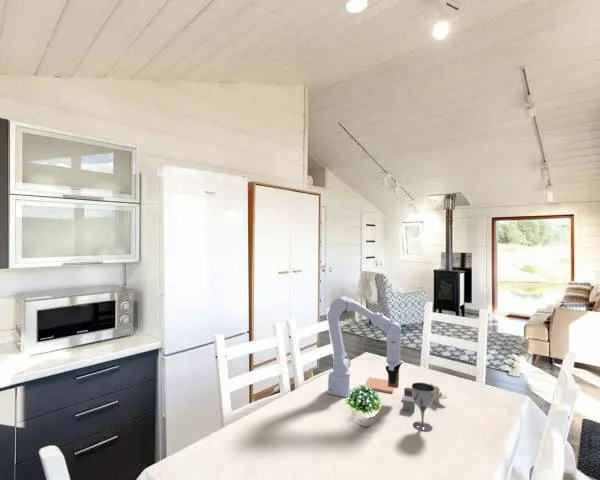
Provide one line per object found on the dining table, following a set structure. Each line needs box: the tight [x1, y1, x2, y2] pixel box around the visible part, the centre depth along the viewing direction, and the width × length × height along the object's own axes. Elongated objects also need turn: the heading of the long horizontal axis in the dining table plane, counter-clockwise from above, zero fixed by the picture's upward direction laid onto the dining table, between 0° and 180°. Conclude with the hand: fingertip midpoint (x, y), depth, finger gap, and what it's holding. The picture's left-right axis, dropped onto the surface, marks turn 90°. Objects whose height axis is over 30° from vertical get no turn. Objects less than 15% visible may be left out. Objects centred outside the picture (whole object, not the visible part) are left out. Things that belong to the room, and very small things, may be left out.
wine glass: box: [411, 382, 434, 433], centre depth 130 cm, size 8×8×15 cm
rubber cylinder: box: [403, 387, 413, 397], centre depth 153 cm, size 4×4×4 cm
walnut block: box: [387, 370, 400, 389], centre depth 150 cm, size 4×4×6 cm
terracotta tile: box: [364, 376, 395, 394], centre depth 166 cm, size 13×12×1 cm
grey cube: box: [402, 396, 416, 413], centre depth 144 cm, size 4×4×4 cm
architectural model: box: [429, 383, 448, 405], centre depth 150 cm, size 3×7×7 cm, turn 20°
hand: (393, 381), depth 150 cm, fingers closed on walnut block, 4 cm apart
